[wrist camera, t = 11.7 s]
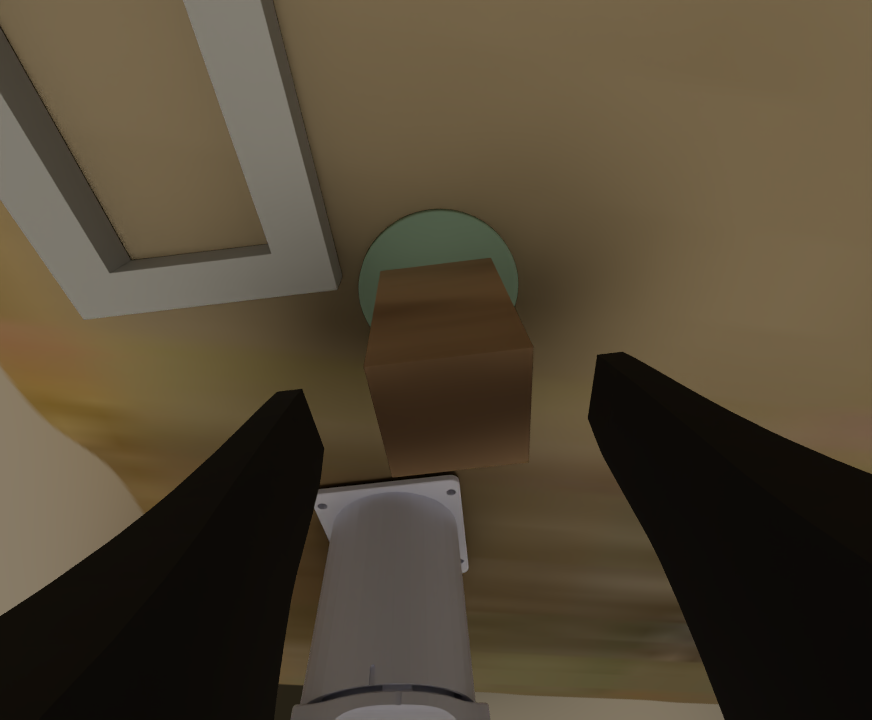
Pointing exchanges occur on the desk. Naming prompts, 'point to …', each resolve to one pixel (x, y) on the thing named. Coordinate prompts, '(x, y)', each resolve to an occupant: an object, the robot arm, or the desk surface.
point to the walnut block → (449, 369)
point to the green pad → (433, 249)
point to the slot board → (259, 158)
